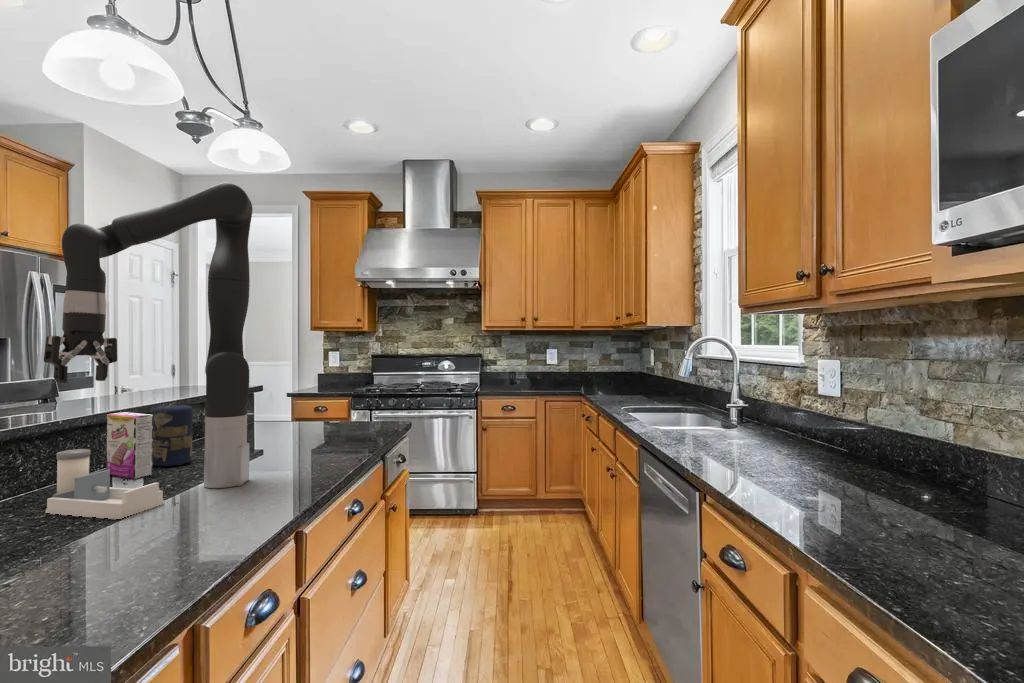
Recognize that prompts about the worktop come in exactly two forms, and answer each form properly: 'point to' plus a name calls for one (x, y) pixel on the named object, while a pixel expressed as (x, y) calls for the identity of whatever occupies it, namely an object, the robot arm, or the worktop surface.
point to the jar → (71, 467)
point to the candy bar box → (129, 444)
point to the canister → (172, 435)
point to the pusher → (93, 486)
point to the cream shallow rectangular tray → (107, 503)
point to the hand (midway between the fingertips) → (81, 381)
